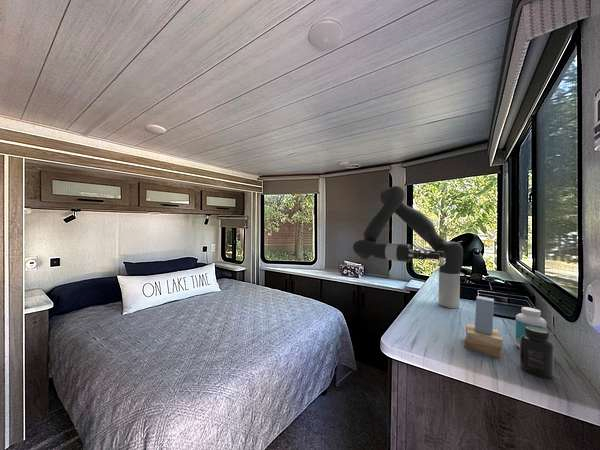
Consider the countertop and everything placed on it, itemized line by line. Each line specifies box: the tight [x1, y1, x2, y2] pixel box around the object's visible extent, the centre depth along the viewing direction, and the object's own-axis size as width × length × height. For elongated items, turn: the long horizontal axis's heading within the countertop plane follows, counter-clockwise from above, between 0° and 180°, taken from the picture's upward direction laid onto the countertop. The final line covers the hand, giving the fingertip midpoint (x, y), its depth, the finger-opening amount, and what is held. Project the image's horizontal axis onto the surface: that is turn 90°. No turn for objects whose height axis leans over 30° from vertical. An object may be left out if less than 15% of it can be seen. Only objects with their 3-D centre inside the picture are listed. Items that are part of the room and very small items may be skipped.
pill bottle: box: [514, 306, 548, 349], centre depth 79 cm, size 8×7×14 cm
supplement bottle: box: [519, 326, 555, 379], centre depth 67 cm, size 7×7×12 cm
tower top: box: [465, 322, 504, 350], centre depth 80 cm, size 9×9×3 cm
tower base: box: [464, 334, 501, 358], centre depth 80 cm, size 9×9×3 cm
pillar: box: [474, 295, 495, 335], centre depth 80 cm, size 4×4×11 cm
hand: (441, 255), depth 91 cm, fingers open, 8 cm apart
